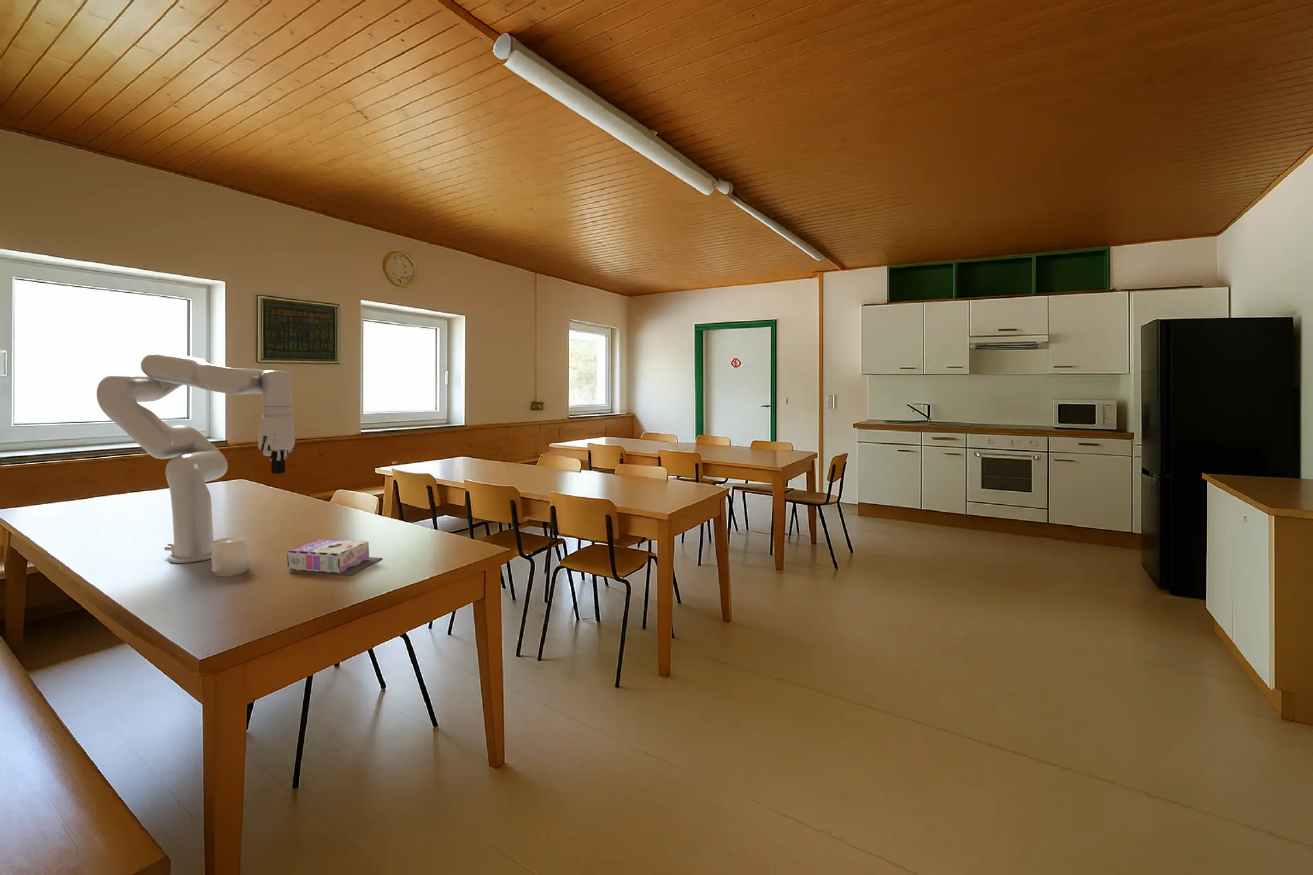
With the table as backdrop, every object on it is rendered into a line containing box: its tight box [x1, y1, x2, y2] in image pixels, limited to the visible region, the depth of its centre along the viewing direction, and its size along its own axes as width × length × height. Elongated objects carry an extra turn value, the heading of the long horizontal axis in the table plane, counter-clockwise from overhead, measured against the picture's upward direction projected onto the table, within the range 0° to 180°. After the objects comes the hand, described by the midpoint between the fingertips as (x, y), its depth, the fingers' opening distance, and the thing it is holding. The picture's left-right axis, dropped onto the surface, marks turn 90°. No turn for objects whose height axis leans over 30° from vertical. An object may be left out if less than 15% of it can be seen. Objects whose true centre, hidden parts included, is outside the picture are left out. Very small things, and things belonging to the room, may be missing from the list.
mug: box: [210, 536, 249, 577], centre depth 171 cm, size 8×10×9 cm
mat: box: [290, 556, 383, 577], centre depth 179 cm, size 18×16×1 cm
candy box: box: [286, 538, 370, 573], centre depth 178 cm, size 14×6×16 cm
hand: (278, 473), depth 183 cm, fingers closed
